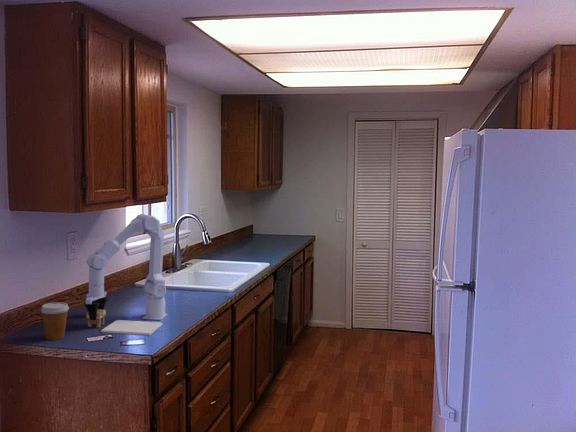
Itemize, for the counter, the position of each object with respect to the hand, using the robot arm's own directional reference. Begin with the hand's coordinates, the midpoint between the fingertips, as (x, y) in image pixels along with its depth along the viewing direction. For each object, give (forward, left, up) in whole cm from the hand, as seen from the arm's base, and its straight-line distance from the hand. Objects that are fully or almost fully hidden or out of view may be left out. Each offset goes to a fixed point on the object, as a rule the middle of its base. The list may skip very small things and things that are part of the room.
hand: (96, 317), depth 220 cm
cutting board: (0, +15, -3) cm, 15 cm away
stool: (0, 0, -3) cm, 3 cm away
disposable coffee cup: (+17, -8, -3) cm, 19 cm away
